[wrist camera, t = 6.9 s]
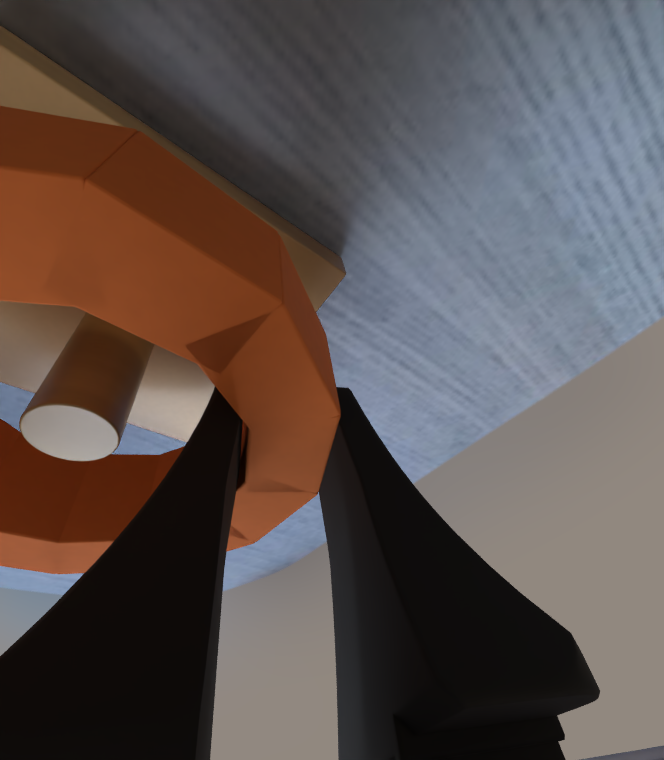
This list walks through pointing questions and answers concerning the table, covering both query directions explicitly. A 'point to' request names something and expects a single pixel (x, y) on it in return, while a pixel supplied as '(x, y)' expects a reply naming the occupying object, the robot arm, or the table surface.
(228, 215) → the rubber ring
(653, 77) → the table surface
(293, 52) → the table surface
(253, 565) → the table surface
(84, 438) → the peg stand
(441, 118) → the table surface
